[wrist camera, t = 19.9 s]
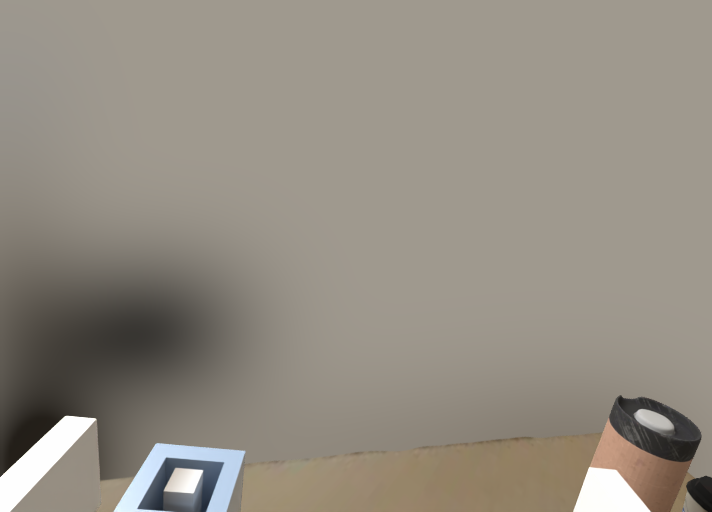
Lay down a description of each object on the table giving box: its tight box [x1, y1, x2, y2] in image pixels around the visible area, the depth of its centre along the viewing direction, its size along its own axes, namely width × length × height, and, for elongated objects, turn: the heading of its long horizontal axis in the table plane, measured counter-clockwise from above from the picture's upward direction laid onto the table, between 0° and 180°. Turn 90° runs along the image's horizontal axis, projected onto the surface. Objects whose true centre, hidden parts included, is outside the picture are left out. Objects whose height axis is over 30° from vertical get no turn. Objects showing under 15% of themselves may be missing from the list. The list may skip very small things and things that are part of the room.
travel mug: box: [590, 395, 701, 512], centre depth 43 cm, size 8×8×20 cm
